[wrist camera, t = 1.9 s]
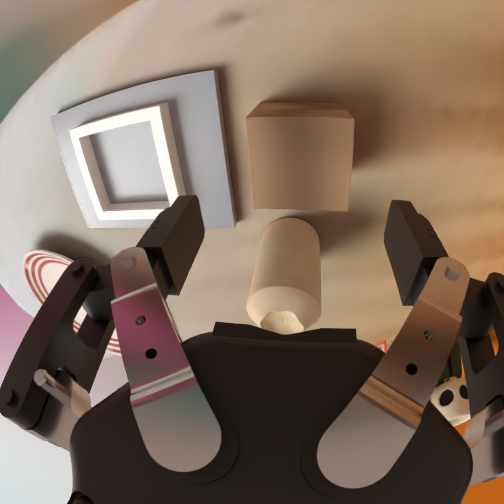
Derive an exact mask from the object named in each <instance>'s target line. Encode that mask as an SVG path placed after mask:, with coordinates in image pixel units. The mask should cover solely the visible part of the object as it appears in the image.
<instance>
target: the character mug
mask: <svg viewBox="0 0 504 504" xmlns="http://www.w3.org/2000/svg"><path fill="white" fill-rule="evenodd" d="M461 375H462V366H461V356H460V350H459V346H458V345H456V344H454V345H453V347H452V350H451V353H450V355H449V357H448V360H447V362H446V365H445V367H444V369H443V372H442V374H441V376H440V378H439V380H438V383H437V385H436V387H435V389H434V391H433V393H432V395H431V397H430V399H429V400H430V401H431V402H432V403H433V404H434V405H435V406H436V408H437V409H438V410H439V411H440V412H441V413H442V414H443V415H444V417H445V418H446V419H447V420H448V421H449V422H450V423H451V425H452V426H456V425H458V424H461V423H463V422H465V421H467V420H469V419H471V418H470V408H469V399H468V392H467V385H466V379H465V378H461Z"/></svg>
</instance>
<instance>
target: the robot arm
mask: <svg viewBox="0 0 504 504" xmlns="http://www.w3.org/2000/svg"><path fill="white" fill-rule="evenodd" d="M204 233H205V229H204V223H203V218H202V213H201V208H200V203H199V199H198V197H197V195H180V196H178V197H177V198H176V200H175V201H174V203H173V204H172V205H171V207H167V208H166V209H165V210H163V211H162V212H161V213H159V214H158V216H157V217H156V218H155V220H154V222H152V224H151V225H150V227H149V229H147V231H146V232H145V234H144V235H143V237H142V238H141V239H140V241H139V242H138V244H137V245H136V247H131V248H127V249H125V250H122V251H121V252H119V253H118V254H117V255H116V256H115V257H114V258H113V259H112V261H111V264H109V265H105V266H100V267H95V265H94V263H93V261H92V259H90V258H88V257H83V258H80V259H77V260H75V261H74V262H72V263H71V264H70V265H69V266H68V267H67V268H66V269H65V271H64V272H63V274H62V275H61V277H60V278H59V280H58V281H57V283H56V284H55V286H54V287H53V289H52V290H51V292H50V293H49V295H48V297H47V298H46V300H45V301H44V303H43V305H42V306H41V308H40V310H39V311H38V313H37V315H36V317H35V318H34V320H33V322H32V324H31V325H30V327H29V329H28V331H27V333H26V334H25V336H24V338H23V340H22V342H21V344H20V346H19V348H18V350H17V352H16V354H15V356H14V359H13V360H12V362H11V365H10V367H9V369H8V371H7V373H6V376H5V378H4V380H3V383H2V385H1V388H0V413H1V414H2V415H3V416H4V417H6V418H7V419H9V420H10V421H12V422H13V423H15V424H17V425H18V426H19V427H20V428H22V429H24V430H25V431H27V432H29V433H30V434H32V435H34V436H36V437H38V438H40V439H42V440H44V441H48V442H50V443H52V444H54V445H56V446H58V447H62V448H64V449H66V450H68V451H69V452H70V457H71V463H72V474H73V489H72V495H71V497H70V500H69V501H68V503H67V504H461V502H462V499H463V497H464V496H465V493H466V491H467V489H468V487H469V486H470V485H474V484H476V483H479V482H486V481H489V480H493V479H496V478H499V477H502V476H504V275H502V274H500V273H496V272H493V273H491V274H489V276H488V277H487V279H486V281H485V282H483V281H479V280H476V279H473V278H470V275H469V272H468V270H467V269H466V267H465V266H464V265H463V264H462V263H460V262H459V261H457V260H456V259H453V258H450V257H449V256H448V254H447V252H446V250H445V249H444V247H443V245H442V243H441V241H440V239H439V238H437V234H436V232H435V231H434V229H433V227H432V225H431V224H430V222H429V221H428V220H427V219H426V218H425V217H424V216H423V215H421V214H418V213H417V212H416V210H415V208H414V207H413V205H412V203H411V202H410V201H403V200H392V202H391V205H390V209H389V214H388V219H387V223H386V228H385V233H384V244H385V248H386V251H387V254H388V257H389V260H390V263H391V266H392V270H393V273H394V276H395V280H396V283H397V287H398V290H399V294H400V297H401V301H402V305H403V306H413V309H412V310H411V312H410V314H409V316H408V318H407V319H406V321H405V323H404V325H403V326H402V328H401V330H400V331H399V333H398V335H397V336H396V338H395V340H394V341H393V343H392V344H391V346H390V347H389V349H388V351H387V352H386V353H385V352H384V351H382V350H381V349H379V348H378V347H376V346H374V345H372V344H370V343H368V342H365V341H362V340H358V339H357V337H356V329H336V328H320V329H315V330H310V331H304V332H299V333H293V334H280V333H276V332H272V331H269V330H266V329H262V328H259V327H255V326H252V325H248V324H235V323H224V322H215V326H214V329H213V332H208V333H203V334H200V335H197V336H194V337H191V338H189V339H187V340H185V341H183V339H182V337H181V335H180V333H179V330H178V328H177V326H176V323H175V321H174V319H173V316H172V314H171V312H170V309H169V307H168V304H167V302H166V298H167V296H168V295H178V296H179V294H180V292H181V289H182V287H183V284H184V282H185V280H186V278H187V275H188V273H189V271H190V268H191V266H192V264H193V262H194V259H195V257H196V255H197V253H198V250H199V248H200V246H201V244H202V242H203V239H204ZM81 306H82V307H83V309H84V310H85V311H86V313H87V314H86V316H85V318H84V320H83V322H82V324H81V326H80V328H79V330H78V332H77V334H76V333H75V332H74V328H73V323H74V319H75V317H76V316H77V314H78V312H79V310H80V308H81ZM115 328H116V333H117V337H118V342H119V346H120V351H121V355H122V359H123V362H124V367H125V370H126V374H127V378H128V380H129V382H127V383H126V384H125V385H123V386H122V387H121V388H119V389H118V390H117V391H115V392H114V393H112V394H111V395H109V396H108V397H107V398H105V399H104V400H102V401H101V402H100V403H98V404H97V405H95V406H94V407H91V406H90V404H91V400H90V396H89V393H90V390H91V388H92V385H93V382H94V379H95V377H96V374H97V371H98V369H99V366H100V364H101V361H102V359H103V356H104V354H105V351H106V349H107V346H108V344H109V342H110V339H111V337H112V335H113V332H114V330H115ZM493 328H494V329H495V333H496V336H497V339H498V344H499V347H498V352H497V354H496V356H495V353H494V349H493V346H492V342H491V339H490V335H489V333H490V332H491V331H492V329H493ZM456 337H457V339H458V343H459V348H460V352H461V357H462V362H463V367H464V373H465V379H466V385H467V392H468V399H469V408H470V418H471V419H470V420H469V422H468V424H467V427H466V431H465V433H464V434H463V436H461V435H460V434H459V432H458V431H457V430H456V429H455V428H454V427H453V426H452V425H451V423H450V422H449V421H448V420H447V419H446V418H445V417H444V415H443V414H442V413H441V412H440V411H439V410H438V409H437V408H436V406H435V405H434V404H433V403H432V402H431V401H430V400H429V399H430V397H431V395H432V393H433V391H434V389H435V387H436V385H437V383H438V380H439V378H440V376H441V374H442V372H443V369H444V367H445V365H446V362H447V360H448V357H449V355H450V353H451V350H452V347H453V345H454V342H455V339H456Z"/></svg>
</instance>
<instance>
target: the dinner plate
mask: <svg viewBox="0 0 504 504" xmlns="http://www.w3.org/2000/svg"><path fill="white" fill-rule="evenodd" d="M72 262H74V260H72V259H70V258H68V257H65V256H63V255H61V254H58V253H55V252H52V251H47V250H41V249H35V250H31V251H29V252H27V253H26V254H25V255H24V257H23V260H22V270H23V275H24V278H25V280H26V283H27V285H28V287H29V289H30V290H31V292H32V294H33V295H34V297H35V298H36V299H37V301H38V302H39V303H40V304H41V306H42V305H43V303H44V301H45V300H46V298H47V297H48V295H49V293H50V292H51V290H52V289H53V287H54V286H55V284H56V283H57V281H58V280H59V278H60V277H61V275H62V274H63V272H64V271H65V269H66V268H67V267H68V266H69V265H70V264H71V263H72ZM86 314H87V313H86V311H85V310H84V309H83V307H82V306H81V308H80V310H79V312H78V314H77V316H76V317H75V319H74V323H73V328H74V332H75V333H76V334H77V332H78V330H79V328H80V326H81V324H82V322H83V320H84V318H85V316H86ZM106 351H107V352H110V353H114V354H118V355H121V351H120V346H119V342H118V337H117V333H116V328H115V330H114V332H113V335H112V337H111V339H110V342H109V344H108V346H107V349H106Z"/></svg>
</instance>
